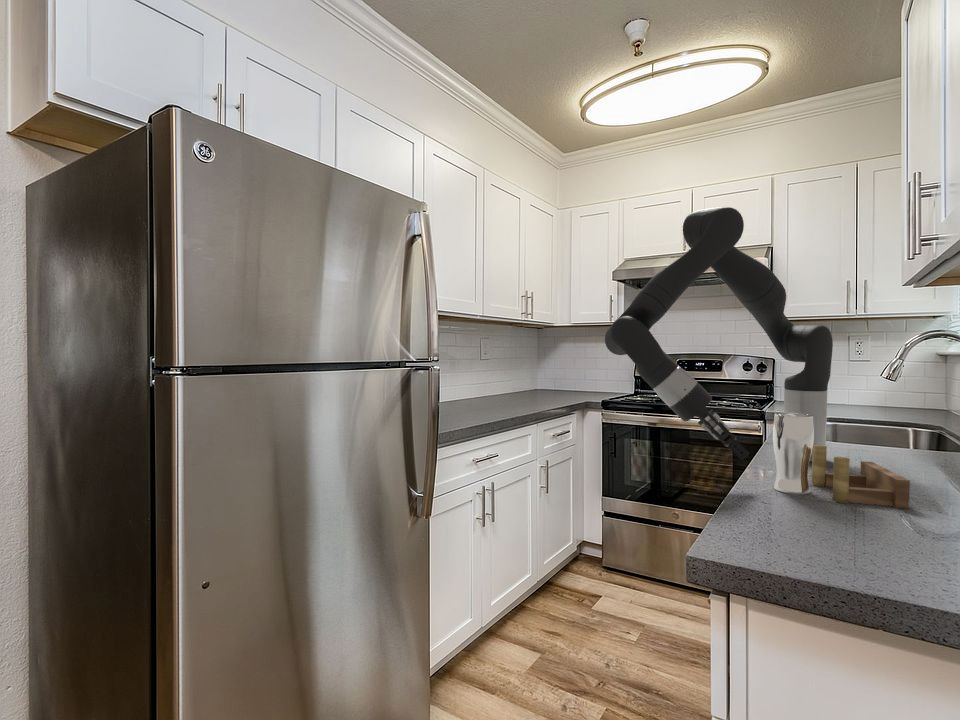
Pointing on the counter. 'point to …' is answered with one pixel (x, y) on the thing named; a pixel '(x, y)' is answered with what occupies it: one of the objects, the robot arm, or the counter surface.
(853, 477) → the holder
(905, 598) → the counter surface
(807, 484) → the silver metal cup
